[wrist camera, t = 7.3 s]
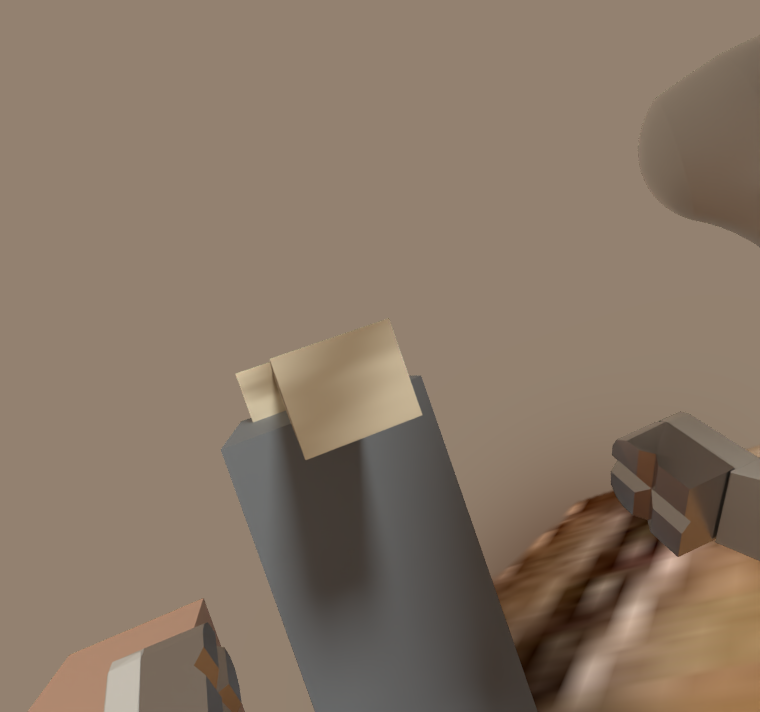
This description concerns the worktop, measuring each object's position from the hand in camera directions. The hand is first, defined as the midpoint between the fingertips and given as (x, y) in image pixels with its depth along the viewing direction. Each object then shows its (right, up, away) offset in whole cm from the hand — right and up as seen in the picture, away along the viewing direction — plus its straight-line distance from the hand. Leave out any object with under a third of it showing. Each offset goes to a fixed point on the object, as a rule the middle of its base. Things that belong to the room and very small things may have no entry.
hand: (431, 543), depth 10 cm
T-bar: (-3, +1, +14) cm, 14 cm away
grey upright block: (+4, -24, +20) cm, 31 cm away
